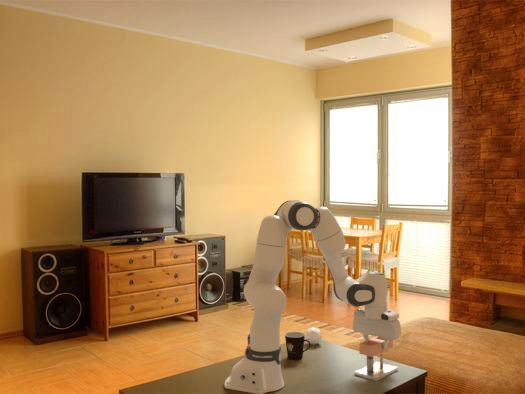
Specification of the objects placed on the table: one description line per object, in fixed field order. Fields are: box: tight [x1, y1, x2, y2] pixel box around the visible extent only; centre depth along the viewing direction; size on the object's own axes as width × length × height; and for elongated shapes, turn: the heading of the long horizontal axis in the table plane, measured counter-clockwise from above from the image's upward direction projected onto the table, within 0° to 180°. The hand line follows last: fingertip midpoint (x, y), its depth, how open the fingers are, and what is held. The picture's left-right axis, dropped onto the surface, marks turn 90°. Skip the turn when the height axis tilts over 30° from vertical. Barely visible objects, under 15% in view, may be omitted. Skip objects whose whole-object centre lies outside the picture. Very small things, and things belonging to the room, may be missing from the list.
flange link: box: [358, 336, 394, 358], centre depth 212 cm, size 15×6×4 cm, turn 136°
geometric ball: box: [305, 327, 323, 346], centre depth 250 cm, size 8×8×8 cm
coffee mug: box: [284, 331, 311, 361], centre depth 230 cm, size 12×9×10 cm
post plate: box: [353, 353, 399, 382], centre depth 212 cm, size 16×10×8 cm, turn 136°
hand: (376, 346), depth 212 cm, fingers closed on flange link, 6 cm apart
